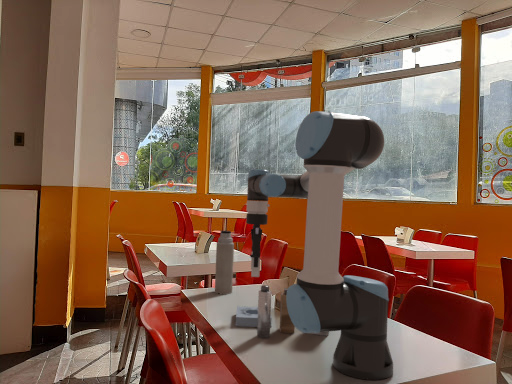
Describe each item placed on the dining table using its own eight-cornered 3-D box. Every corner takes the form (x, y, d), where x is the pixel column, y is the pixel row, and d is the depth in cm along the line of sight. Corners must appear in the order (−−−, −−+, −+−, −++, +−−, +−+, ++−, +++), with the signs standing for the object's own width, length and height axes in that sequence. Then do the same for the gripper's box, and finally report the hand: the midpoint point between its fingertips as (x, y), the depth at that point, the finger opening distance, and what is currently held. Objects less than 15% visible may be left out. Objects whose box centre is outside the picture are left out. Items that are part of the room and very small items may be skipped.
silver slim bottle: (270, 338, 124) (271, 287, 124) (257, 338, 124) (259, 287, 124) (269, 334, 128) (271, 285, 128) (256, 333, 128) (258, 284, 128)
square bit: (294, 333, 130) (295, 290, 130) (280, 332, 130) (282, 290, 130) (292, 328, 134) (294, 288, 135) (279, 328, 134) (281, 287, 135)
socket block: (271, 327, 135) (271, 318, 135) (235, 326, 135) (235, 317, 135) (268, 315, 149) (269, 307, 149) (236, 314, 149) (237, 306, 149)
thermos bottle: (227, 289, 189) (229, 230, 190) (235, 293, 182) (237, 231, 183) (211, 290, 185) (214, 230, 186) (219, 294, 178) (221, 231, 179)
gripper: (269, 214, 130) (267, 280, 130) (266, 212, 155) (264, 267, 155) (246, 213, 130) (244, 279, 130) (246, 211, 155) (244, 266, 155)
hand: (254, 273), depth 142 cm, fingers open, 13 cm apart
